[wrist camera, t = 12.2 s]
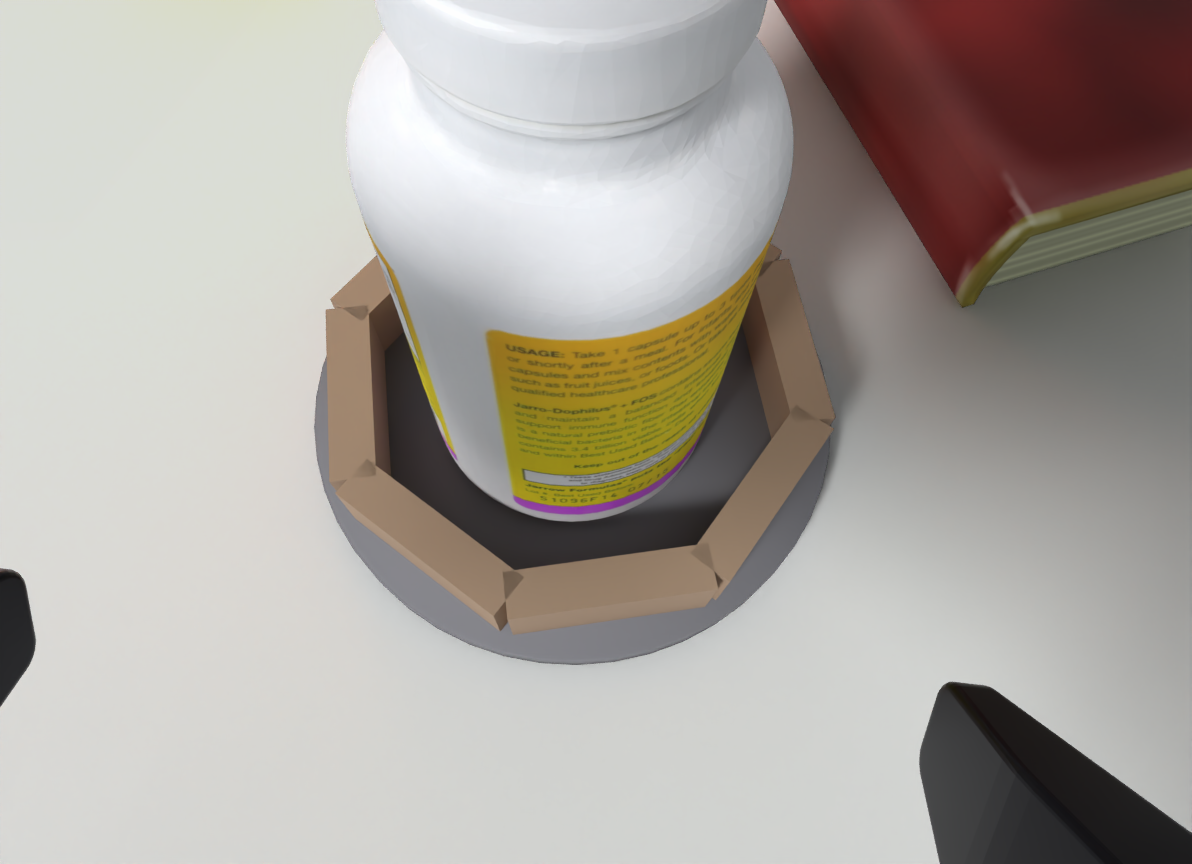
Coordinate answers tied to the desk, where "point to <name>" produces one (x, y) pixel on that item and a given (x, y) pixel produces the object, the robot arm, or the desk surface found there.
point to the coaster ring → (582, 548)
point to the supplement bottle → (570, 227)
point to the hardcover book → (1015, 121)
